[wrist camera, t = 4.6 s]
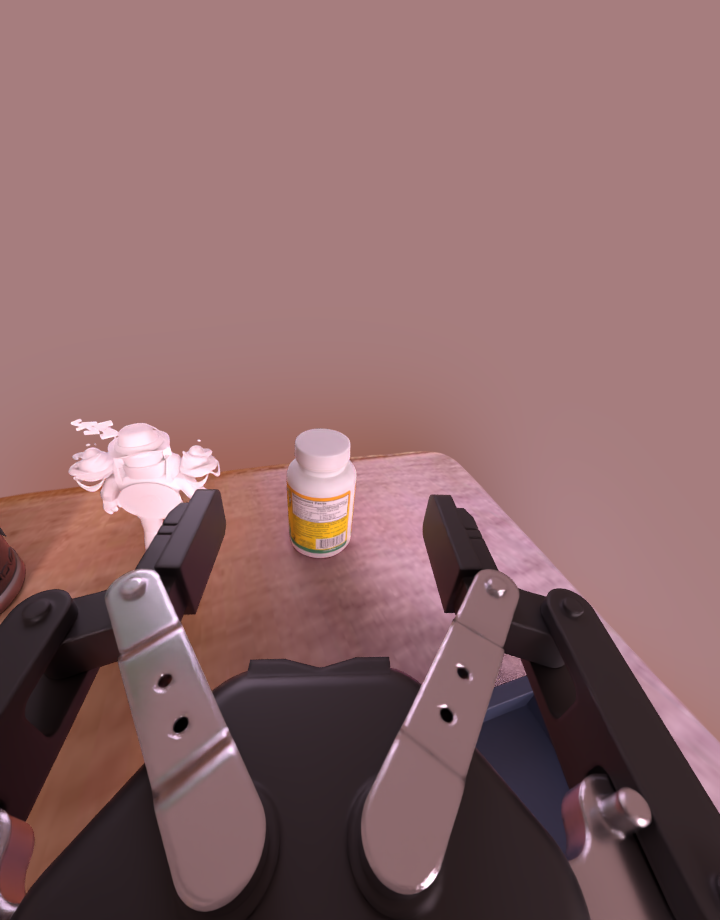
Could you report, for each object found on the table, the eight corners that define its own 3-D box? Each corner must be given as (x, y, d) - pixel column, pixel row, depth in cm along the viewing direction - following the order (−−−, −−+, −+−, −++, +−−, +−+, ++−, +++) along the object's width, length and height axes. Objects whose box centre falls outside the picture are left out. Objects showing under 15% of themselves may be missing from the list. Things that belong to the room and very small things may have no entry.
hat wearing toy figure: (102, 569, 26) (28, 426, 19) (123, 530, 29) (66, 397, 22) (229, 559, 27) (203, 425, 21) (236, 524, 30) (215, 398, 24)
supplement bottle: (333, 569, 27) (339, 471, 22) (276, 545, 29) (268, 448, 23) (360, 526, 31) (370, 435, 26) (309, 507, 33) (309, 417, 28)
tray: (468, 1345, 8) (501, 1422, 7) (341, 762, 17) (343, 743, 16) (753, 1048, 12) (814, 1058, 10) (524, 690, 21) (540, 669, 19)
